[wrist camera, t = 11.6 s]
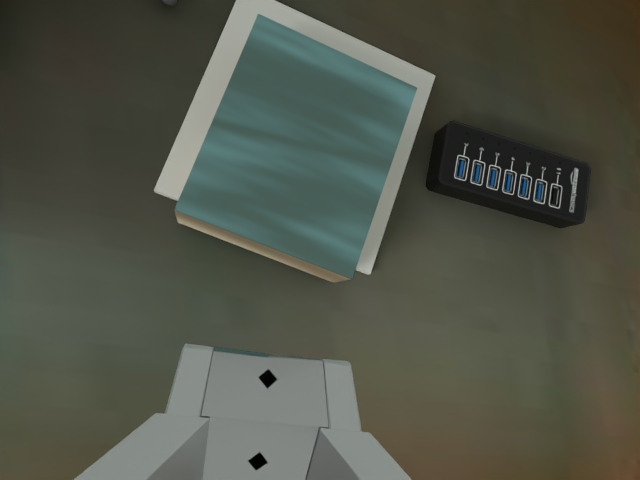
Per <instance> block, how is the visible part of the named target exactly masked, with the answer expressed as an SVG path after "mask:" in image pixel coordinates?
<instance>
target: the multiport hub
mask: <svg viewBox="0 0 640 480" xmlns="http://www.w3.org/2000/svg"><path fill="white" fill-rule="evenodd" d="M590 174H591V168H590V166H589V164H587V163H585V162H582V161H579V160H576V159H573V158H570V157H566V156H563V155H560V154H557V153H554V152H551V151H548V150H544V149H541V148H538V147H535V146H532V145H529V144H525V143H522V142H519V141H516V140H513V139H510V138H507V137H503V136H500V135H497V134H494V133H491V132H488V131H484V130H481V129H478V128H475V127H472V126H469V125H466V124H462V123H459V122H456V121H450V122H449V123H448V124H446V125H445V126H444V127H442V128H441V129H440V130H438V131H437V132H436V133H435V136H434V142H433V147H432V152H431V158H430V163H429V169H428V174H427V180H426V187H427V189H428V190H430V191H432V192H436V193H439V194H443V195H446V196H450V197H453V198H457V199H460V200H464V201H467V202H471V203H474V204H478V205H481V206H485V207H488V208H492V209H495V210H499V211H502V212H506V213H509V214H513V215H516V216H520V217H523V218H527V219H530V220H534V221H537V222H541V223H544V224H548V225H551V226H555V227H558V228H564V227H569V226H573V225H577V224H581V223H583V222H584V221H585V215H586V207H587V199H588V190H589V182H590Z"/></svg>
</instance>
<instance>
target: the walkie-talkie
mask: <svg viewBox="0 0 640 480" xmlns="http://www.w3.org/2000/svg"><path fill="white" fill-rule="evenodd" d="M162 1H163V2H164V3H166V4H167V5H170V6H172V5H175V4H176V3H177V1H178V0H162Z"/></svg>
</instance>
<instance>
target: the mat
mask: <svg viewBox="0 0 640 480" xmlns="http://www.w3.org/2000/svg"><path fill="white" fill-rule="evenodd" d="M258 14H260V15H262V16H265V17H267V18H269V19H271V20H273V21H275V22H277V23H280V24H282V25H284V26H286V27H288V28H290V29H293V30H295V31H297V32H299V33H301V34H303V35H305V36H308V37H310V38H312V39H314V40H316V41H318V42H320V43H323V44H325V45H327V46H329V47H331V48H333V49H335V50H338V51H340V52H342V53H344V54H346V55H348V56H350V57H353V58H355V59H357V60H359V61H361V62H363V63H365V64H368V65H370V66H372V67H374V68H376V69H378V70H380V71H383V72H385V73H387V74H389V75H391V76H393V77H395V78H398V79H400V80H402V81H404V82H406V83H408V84H410V85H413V86H415V87H417V91H416V94H415V96H414V99H413V102H412V105H411V108H410V111H409V114H408V117H407V120H406V123H405V126H404V129H403V132H402V135H401V138H400V140H399V143H398V146H397V149H396V152H395V155H394V158H393V161H392V164H391V167H390V170H389V173H388V176H387V179H386V182H385V185H384V187H383V190H382V193H381V196H380V199H379V202H378V205H377V208H376V211H375V214H374V217H373V220H372V223H371V226H370V229H369V231H368V234H367V237H366V240H365V243H364V246H363V249H362V252H361V255H360V258H359V261H358V264H357V267H356V270H357V271H359V272H362V273H364V274H367V275H368V274H371V271H372V268H373V265H374V262H375V259H376V256H377V253H378V250H379V247H380V244H381V241H382V238H383V235H384V231H385V228H386V225H387V222H388V219H389V216H390V213H391V210H392V207H393V204H394V201H395V198H396V195H397V192H398V189H399V186H400V183H401V180H402V177H403V174H404V170H405V167H406V164H407V161H408V158H409V155H410V152H411V149H412V146H413V143H414V140H415V137H416V134H417V131H418V128H419V125H420V122H421V119H422V116H423V113H424V110H425V106H426V103H427V100H428V97H429V94H430V91H431V88H432V85H433V82H434V79H435V75H433V74H431V73H429V72H427V71H425V70H423V69H420V68H418V67H416V66H414V65H412V64H410V63H408V62H406V61H403V60H401V59H399V58H397V57H395V56H393V55H391V54H388V53H386V52H384V51H382V50H380V49H378V48H376V47H373V46H371V45H369V44H367V43H365V42H363V41H361V40H358V39H356V38H354V37H352V36H350V35H348V34H346V33H344V32H341V31H339V30H337V29H335V28H333V27H331V26H329V25H326V24H324V23H322V22H320V21H318V20H316V19H314V18H311V17H309V16H307V15H305V14H303V13H301V12H299V11H296V10H294V9H292V8H290V7H288V6H286V5H284V4H282V3H279V2H277V1H275V0H236V2H235V4H234V7H233V9H232V11H231V14H230V16H229V18H228V20H227V23H226V25H225V27H224V30H223V32H222V34H221V37H220V39H219V41H218V44H217V46H216V48H215V50H214V53H213V55H212V57H211V60H210V62H209V64H208V67H207V69H206V71H205V73H204V76H203V78H202V80H201V83H200V85H199V87H198V90H197V92H196V94H195V97H194V99H193V101H192V103H191V106H190V108H189V110H188V113H187V115H186V117H185V120H184V122H183V124H182V127H181V129H180V131H179V133H178V136H177V138H176V140H175V143H174V145H173V147H172V150H171V152H170V154H169V156H168V159H167V161H166V163H165V166H164V168H163V170H162V173H161V175H160V177H159V180H158V182H157V184H156V186H155V189H154V192H155V193H158V194H160V195H163V196H166V197H168V198H171V199H173V200H176V201H178V200H179V198H180V195H181V193H182V191H183V188H184V186H185V184H186V181H187V179H188V177H189V174H190V172H191V170H192V167H193V165H194V163H195V160H196V158H197V155H198V153H199V151H200V148H201V146H202V144H203V141H204V139H205V137H206V134H207V132H208V130H209V127H210V125H211V123H212V120H213V118H214V116H215V113H216V111H217V109H218V106H219V104H220V102H221V99H222V97H223V95H224V92H225V90H226V88H227V85H228V83H229V81H230V78H231V76H232V74H233V71H234V69H235V67H236V64H237V62H238V60H239V57H240V55H241V53H242V50H243V48H244V46H245V43H246V41H247V39H248V36H249V34H250V32H251V29H252V27H253V25H254V22H255V20H256V18H257V15H258Z"/></svg>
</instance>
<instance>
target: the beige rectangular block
mask: <svg viewBox="0 0 640 480" xmlns="http://www.w3.org/2000/svg"><path fill="white" fill-rule="evenodd" d="M416 91H417V87H415V86H413V85H410V84H408V83H406V82H404V81H402V80H400V79H398V78H395V77H393V76H391V75H389V74H387V73H385V72H383V71H380V70H378V69H376V68H374V67H372V66H370V65H368V64H365V63H363V62H361V61H359V60H357V59H355V58H353V57H350V56H348V55H346V54H344V53H342V52H340V51H338V50H335V49H333V48H331V47H329V46H327V45H325V44H323V43H320V42H318V41H316V40H314V39H312V38H310V37H308V36H305V35H303V34H301V33H299V32H297V31H295V30H293V29H290V28H288V27H286V26H284V25H282V24H280V23H277V22H275V21H273V20H271V19H269V18H267V17H265V16H262V15H260V14H258V15H257V18H256V20H255V22H254V25H253V27H252V29H251V32H250V34H249V36H248V39H247V41H246V43H245V46H244V48H243V50H242V53H241V55H240V57H239V60H238V62H237V64H236V67H235V69H234V71H233V74H232V76H231V78H230V81H229V83H228V85H227V88H226V90H225V92H224V95H223V97H222V99H221V102H220V104H219V106H218V109H217V111H216V113H215V116H214V118H213V120H212V123H211V125H210V127H209V130H208V132H207V134H206V137H205V139H204V141H203V144H202V146H201V148H200V151H199V153H198V155H197V158H196V160H195V163H194V165H193V167H192V170H191V172H190V174H189V177H188V179H187V181H186V184H185V186H184V188H183V191H182V193H181V195H180V198H179V200H178V202H177V205H176V207H175V209H174V210H175V214H176V218H177V221H178V223H180V224H183V225H186V226H188V227H191V228H193V229H196V230H199V231H201V232H204V233H206V234H209V235H211V236H214V237H217V238H219V239H222V240H224V241H227V242H230V243H232V244H235V245H237V246H240V247H243V248H245V249H248V250H250V251H253V252H255V253H258V254H261V255H263V256H266V257H268V258H271V259H274V260H276V261H279V262H281V263H284V264H287V265H289V266H292V267H294V268H297V269H300V270H302V271H305V272H307V273H310V274H312V275H315V276H318V277H320V278H323V279H325V280H328V281H331V282H333V283H335V282H340V281H345V280H350V279H352V278H353V275H354V273H355V270H356V267H357V264H358V261H359V258H360V255H361V252H362V249H363V246H364V243H365V240H366V237H367V234H368V231H369V229H370V226H371V223H372V220H373V217H374V214H375V211H376V208H377V205H378V202H379V199H380V196H381V193H382V190H383V187H384V185H385V182H386V179H387V176H388V173H389V170H390V167H391V164H392V161H393V158H394V155H395V152H396V149H397V146H398V143H399V140H400V138H401V135H402V132H403V129H404V126H405V123H406V120H407V117H408V114H409V111H410V108H411V105H412V102H413V99H414V96H415V94H416Z"/></svg>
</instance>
